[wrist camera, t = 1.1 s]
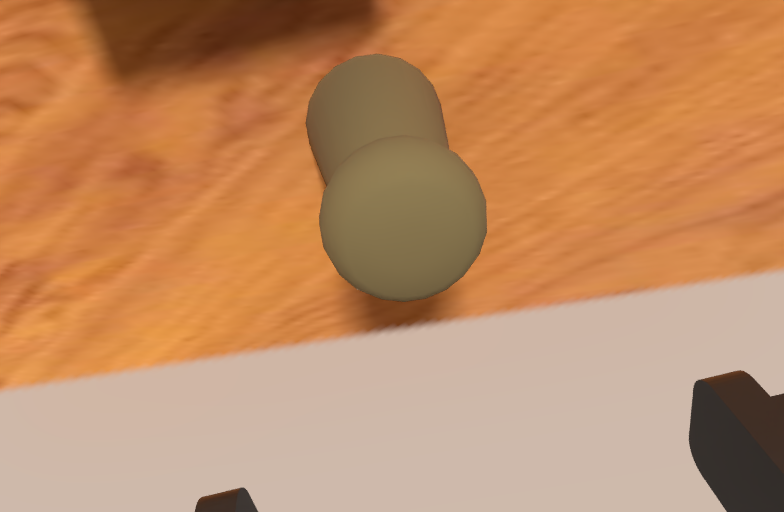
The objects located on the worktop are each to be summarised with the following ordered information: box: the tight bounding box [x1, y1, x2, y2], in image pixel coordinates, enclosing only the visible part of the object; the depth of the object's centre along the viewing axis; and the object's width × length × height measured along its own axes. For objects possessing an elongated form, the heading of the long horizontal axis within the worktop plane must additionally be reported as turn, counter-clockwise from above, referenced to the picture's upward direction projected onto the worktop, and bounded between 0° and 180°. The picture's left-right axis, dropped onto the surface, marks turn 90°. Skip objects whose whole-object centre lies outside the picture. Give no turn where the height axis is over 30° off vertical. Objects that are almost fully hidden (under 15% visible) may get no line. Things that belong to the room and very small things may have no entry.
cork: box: [306, 54, 487, 302], centre depth 22 cm, size 6×6×11 cm
